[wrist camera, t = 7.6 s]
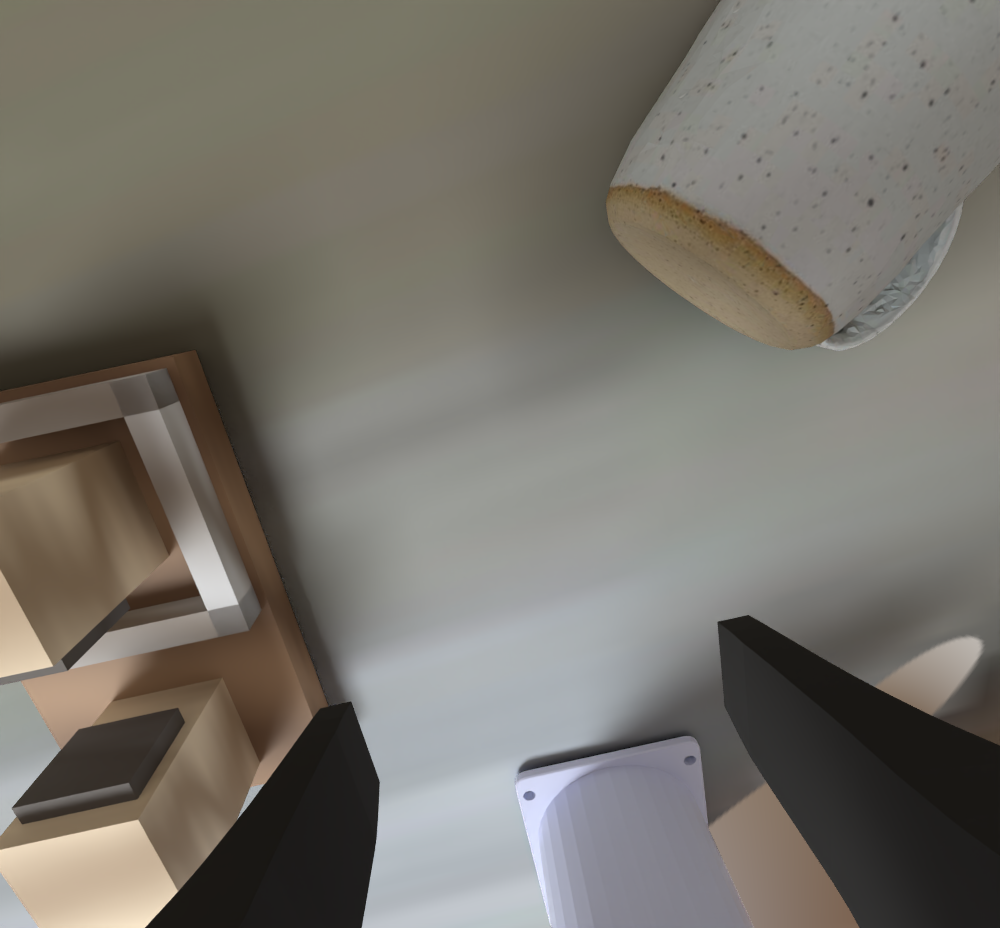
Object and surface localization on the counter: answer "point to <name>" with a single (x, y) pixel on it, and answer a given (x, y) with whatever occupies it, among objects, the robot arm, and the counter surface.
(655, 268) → the ceramic mug
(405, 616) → the counter surface
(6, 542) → the tan square block
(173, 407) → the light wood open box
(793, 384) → the counter surface
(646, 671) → the counter surface
